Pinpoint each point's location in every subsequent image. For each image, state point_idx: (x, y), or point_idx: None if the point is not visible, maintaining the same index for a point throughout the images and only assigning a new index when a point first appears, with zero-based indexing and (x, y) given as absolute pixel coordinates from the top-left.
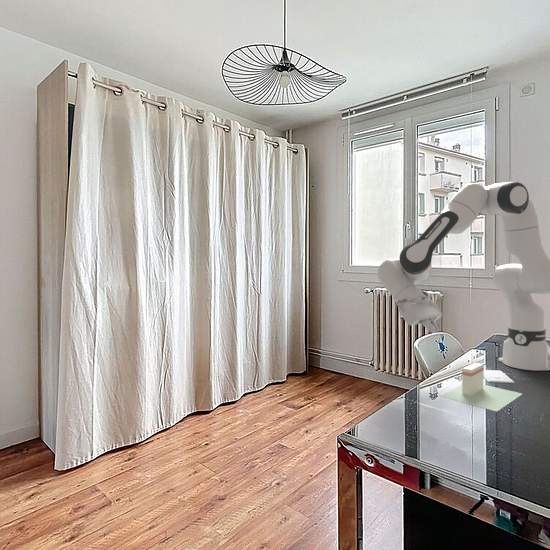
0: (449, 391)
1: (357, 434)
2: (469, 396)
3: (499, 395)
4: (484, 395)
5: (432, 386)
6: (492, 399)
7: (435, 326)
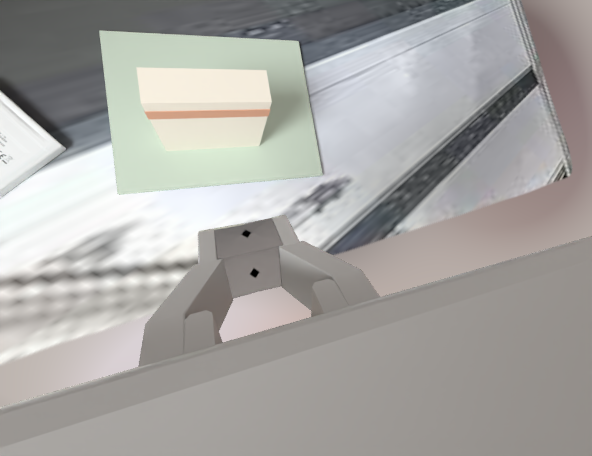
0: (271, 178)
1: (558, 165)
2: None
3: None
4: None
5: None
6: None
7: (237, 247)
